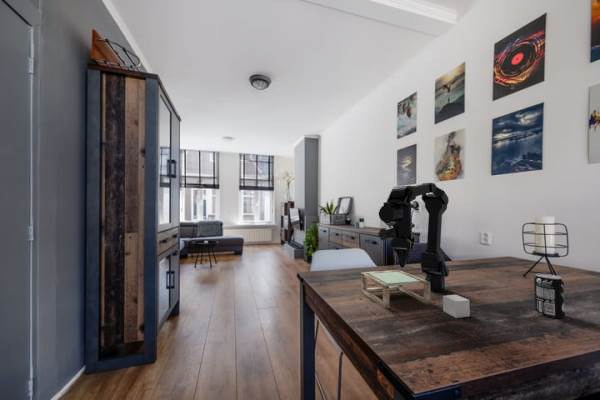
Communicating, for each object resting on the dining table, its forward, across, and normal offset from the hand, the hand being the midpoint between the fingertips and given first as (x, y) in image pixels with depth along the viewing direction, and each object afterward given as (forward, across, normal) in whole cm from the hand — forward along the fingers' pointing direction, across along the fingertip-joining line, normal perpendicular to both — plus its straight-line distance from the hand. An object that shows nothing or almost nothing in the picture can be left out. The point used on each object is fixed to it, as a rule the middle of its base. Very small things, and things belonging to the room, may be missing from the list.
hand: (404, 264), depth 87 cm
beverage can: (+14, -12, +41) cm, 44 cm away
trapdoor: (+7, -3, -4) cm, 8 cm away
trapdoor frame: (+13, -3, -4) cm, 14 cm away
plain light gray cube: (+13, +2, +15) cm, 20 cm away
